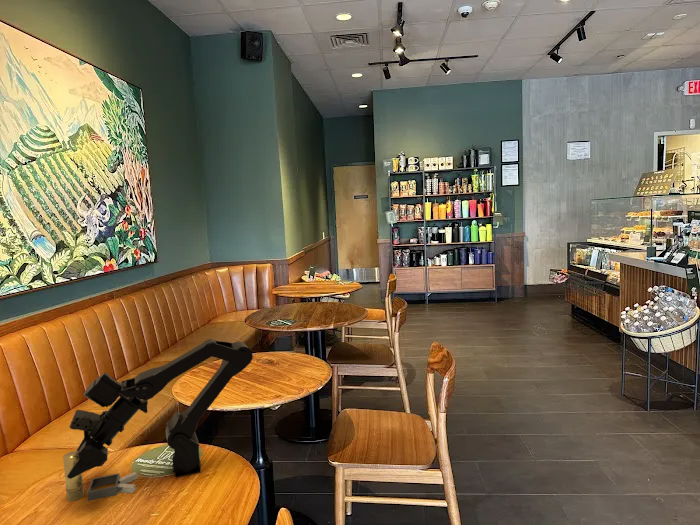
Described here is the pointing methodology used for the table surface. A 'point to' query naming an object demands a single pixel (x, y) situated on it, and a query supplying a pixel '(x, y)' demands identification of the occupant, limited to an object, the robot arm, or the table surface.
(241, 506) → the table surface
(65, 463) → the gold metal cylinder
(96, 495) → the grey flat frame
